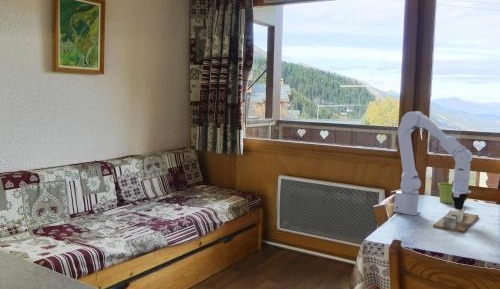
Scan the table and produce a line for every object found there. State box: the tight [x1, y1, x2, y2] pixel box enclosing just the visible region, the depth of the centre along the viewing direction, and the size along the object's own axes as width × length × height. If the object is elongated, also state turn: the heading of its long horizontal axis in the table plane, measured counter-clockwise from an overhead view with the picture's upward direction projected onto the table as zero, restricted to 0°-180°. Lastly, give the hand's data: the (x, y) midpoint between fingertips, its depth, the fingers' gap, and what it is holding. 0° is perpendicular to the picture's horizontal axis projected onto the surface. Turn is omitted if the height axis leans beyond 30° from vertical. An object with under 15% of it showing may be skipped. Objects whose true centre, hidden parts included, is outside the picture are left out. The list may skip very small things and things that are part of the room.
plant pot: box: [437, 182, 454, 205], centre depth 225 cm, size 9×9×9 cm
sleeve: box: [448, 207, 465, 223], centre depth 188 cm, size 4×5×4 cm
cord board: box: [432, 208, 479, 234], centre depth 190 cm, size 11×30×5 cm, turn 144°
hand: (458, 211), depth 191 cm, fingers closed
